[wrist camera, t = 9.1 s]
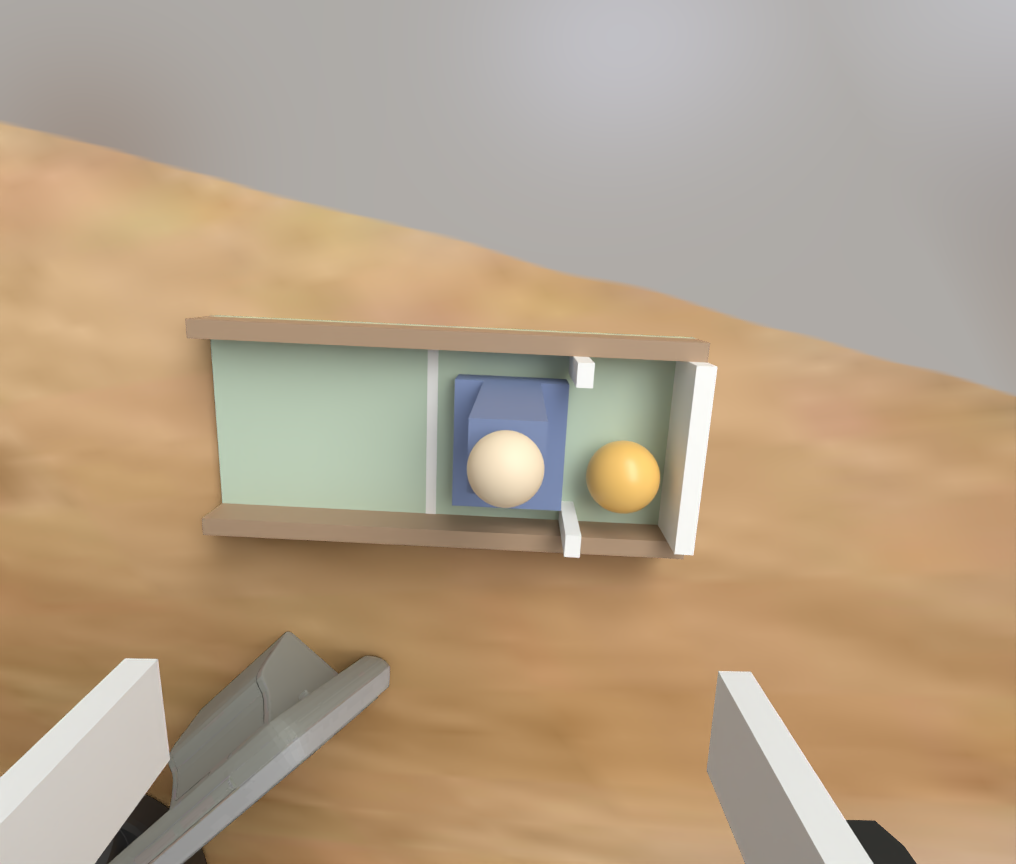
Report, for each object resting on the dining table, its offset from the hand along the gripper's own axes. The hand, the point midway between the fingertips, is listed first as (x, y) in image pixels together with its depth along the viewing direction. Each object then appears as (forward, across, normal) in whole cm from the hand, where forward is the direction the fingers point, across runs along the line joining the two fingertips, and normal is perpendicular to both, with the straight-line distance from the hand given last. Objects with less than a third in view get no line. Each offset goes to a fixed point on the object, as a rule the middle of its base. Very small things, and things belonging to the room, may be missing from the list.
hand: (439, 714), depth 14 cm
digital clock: (+23, -13, -18) cm, 32 cm away
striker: (+21, +2, +2) cm, 21 cm away
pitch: (+22, -2, +2) cm, 23 cm away
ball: (+19, +8, 0) cm, 21 cm away
